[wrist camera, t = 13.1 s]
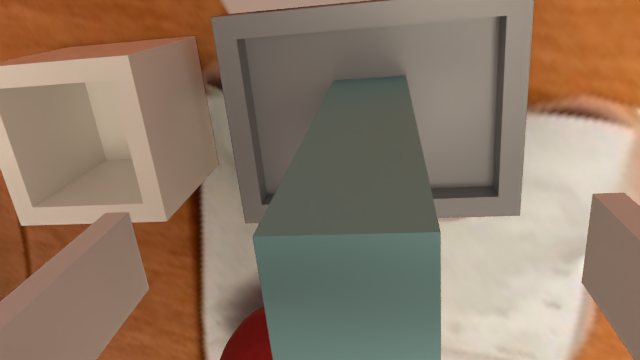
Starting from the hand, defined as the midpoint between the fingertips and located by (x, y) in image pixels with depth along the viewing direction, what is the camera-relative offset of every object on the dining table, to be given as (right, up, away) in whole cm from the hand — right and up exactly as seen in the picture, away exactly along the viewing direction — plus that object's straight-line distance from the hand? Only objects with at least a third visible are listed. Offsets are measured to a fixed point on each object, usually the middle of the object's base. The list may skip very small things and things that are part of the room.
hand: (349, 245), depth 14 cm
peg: (+2, +6, +14) cm, 15 cm away
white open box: (-12, +6, +16) cm, 21 cm away
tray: (+2, +6, +14) cm, 16 cm away
